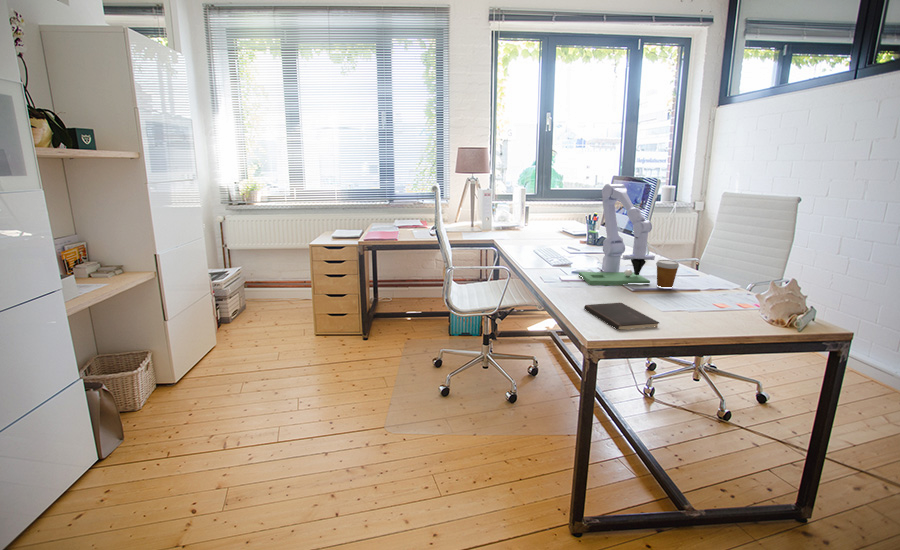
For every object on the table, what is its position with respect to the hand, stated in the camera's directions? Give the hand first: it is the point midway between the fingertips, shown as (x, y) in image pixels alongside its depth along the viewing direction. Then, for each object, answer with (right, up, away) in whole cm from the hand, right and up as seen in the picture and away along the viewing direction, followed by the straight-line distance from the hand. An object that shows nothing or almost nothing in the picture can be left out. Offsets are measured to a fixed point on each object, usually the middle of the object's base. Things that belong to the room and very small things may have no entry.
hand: (636, 274), depth 225 cm
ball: (-4, +1, -1) cm, 4 cm away
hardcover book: (-26, -17, -51) cm, 60 cm away
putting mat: (-11, -3, 0) cm, 11 cm away
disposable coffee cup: (+9, -6, -10) cm, 15 cm away
